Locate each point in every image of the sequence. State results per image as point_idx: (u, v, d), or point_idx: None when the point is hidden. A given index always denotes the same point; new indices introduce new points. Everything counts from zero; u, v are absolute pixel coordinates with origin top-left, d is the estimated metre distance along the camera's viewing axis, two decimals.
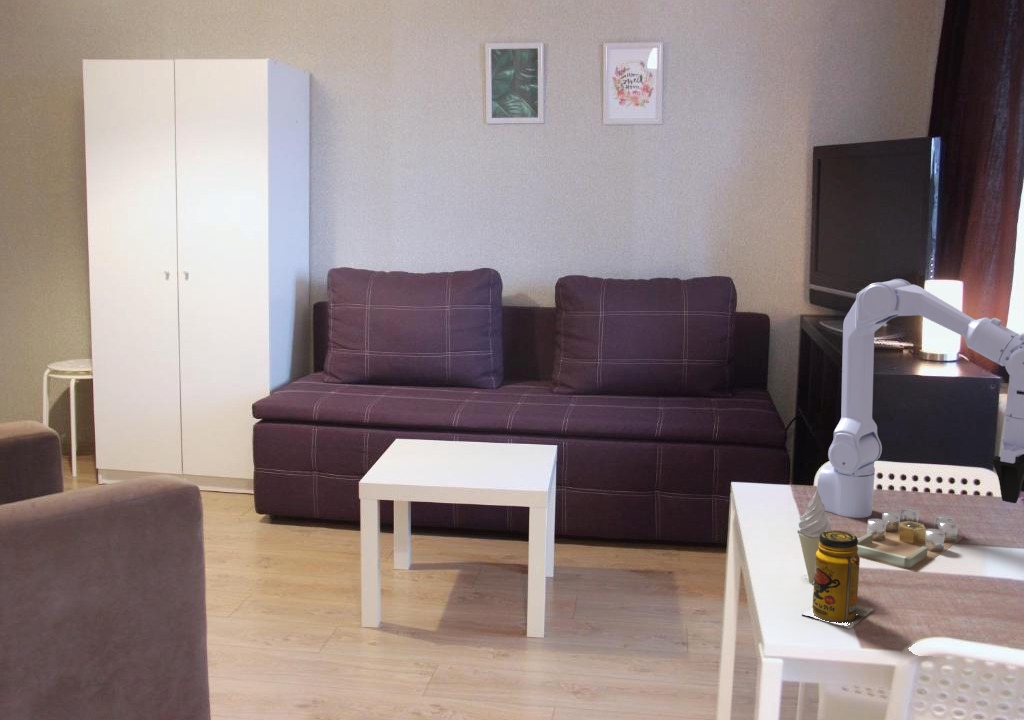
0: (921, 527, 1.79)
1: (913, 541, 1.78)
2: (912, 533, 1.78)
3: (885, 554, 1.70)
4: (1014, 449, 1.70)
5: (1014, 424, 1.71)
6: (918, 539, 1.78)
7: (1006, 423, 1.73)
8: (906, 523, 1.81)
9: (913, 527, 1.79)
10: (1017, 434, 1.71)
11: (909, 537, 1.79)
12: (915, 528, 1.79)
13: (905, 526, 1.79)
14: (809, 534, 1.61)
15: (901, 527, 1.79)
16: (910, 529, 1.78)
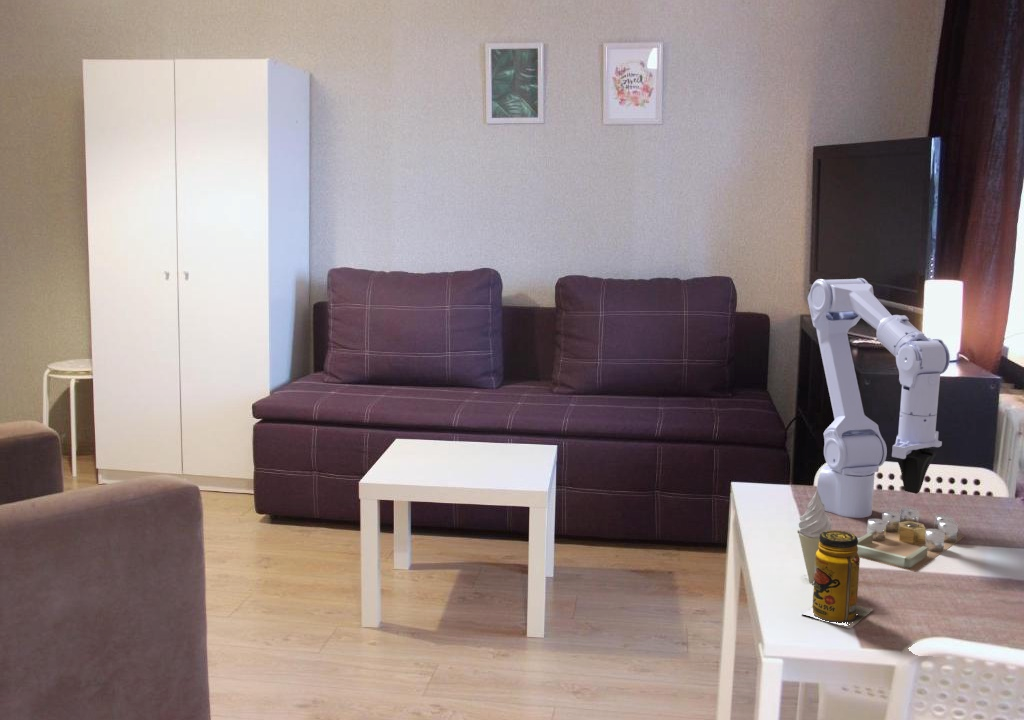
0: (921, 527, 1.79)
1: (913, 541, 1.78)
2: (912, 533, 1.78)
3: (885, 554, 1.70)
4: (906, 445, 1.73)
5: (907, 420, 1.74)
6: (918, 539, 1.78)
7: (900, 419, 1.76)
8: (906, 523, 1.81)
9: (913, 527, 1.79)
10: (910, 430, 1.74)
11: (909, 537, 1.79)
12: (915, 528, 1.79)
13: (905, 526, 1.79)
14: (809, 534, 1.61)
15: (901, 527, 1.79)
16: (910, 529, 1.78)
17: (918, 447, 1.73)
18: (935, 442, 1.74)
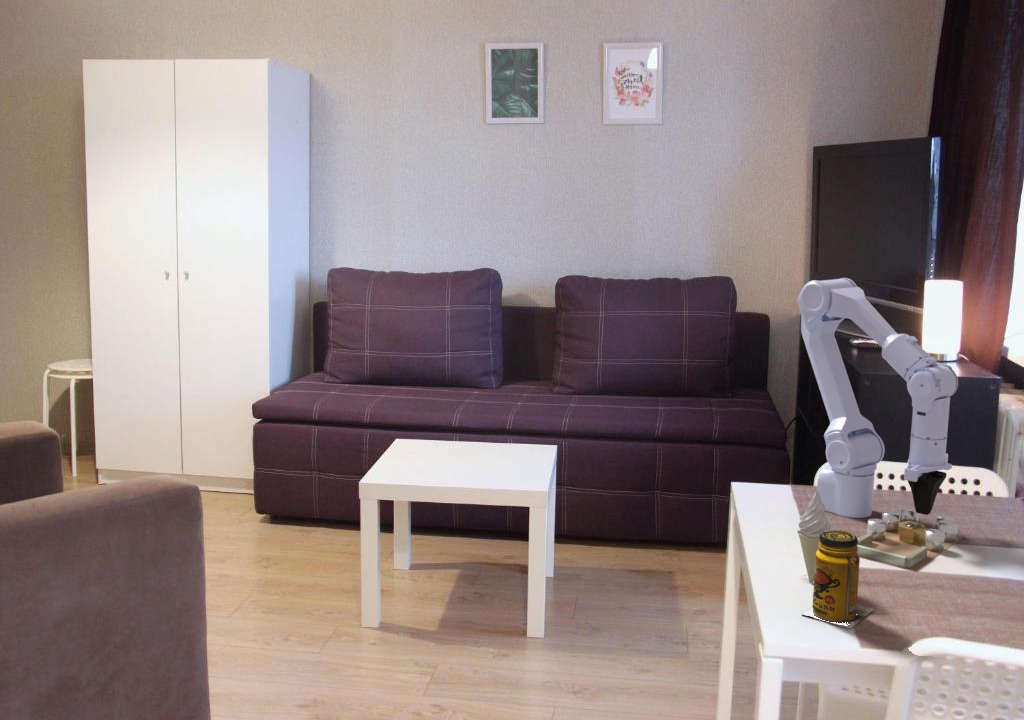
0: (921, 527, 1.79)
1: (913, 541, 1.78)
2: (912, 533, 1.78)
3: (885, 554, 1.70)
4: (917, 468, 1.78)
5: (918, 444, 1.79)
6: (918, 539, 1.78)
7: (911, 443, 1.81)
8: (906, 523, 1.81)
9: (913, 527, 1.79)
10: (921, 453, 1.79)
11: (909, 537, 1.79)
12: (915, 528, 1.79)
13: (905, 526, 1.79)
14: (809, 534, 1.61)
15: (901, 527, 1.79)
16: (910, 529, 1.78)
17: (929, 470, 1.78)
18: (945, 465, 1.79)
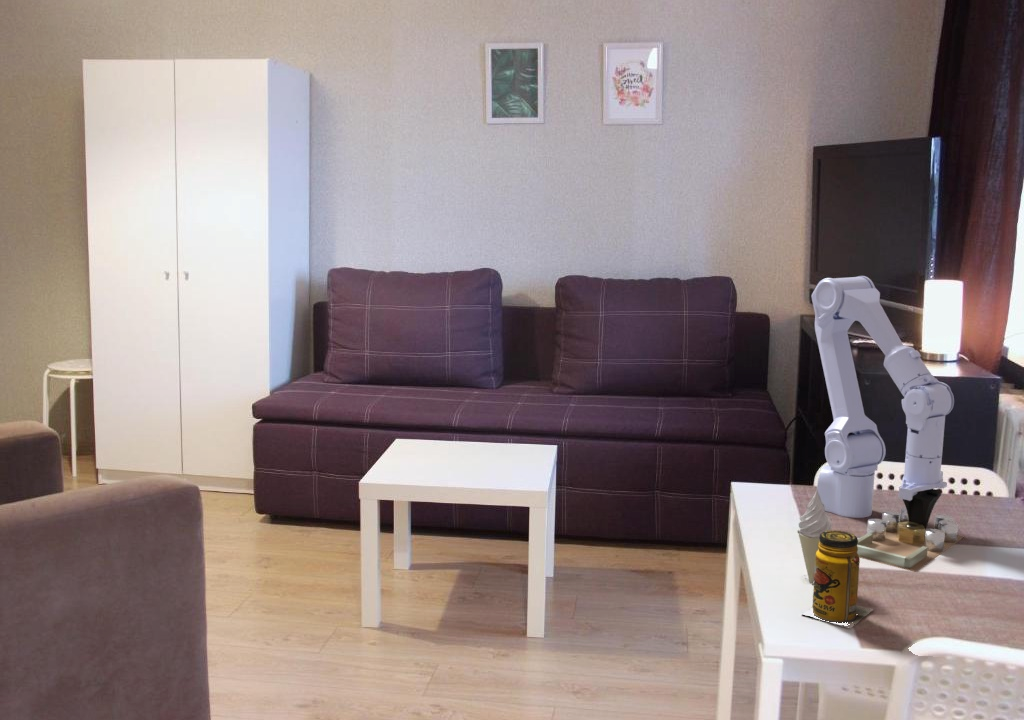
0: (920, 527, 1.79)
1: (912, 542, 1.78)
2: (912, 533, 1.78)
3: (885, 554, 1.70)
4: (912, 486, 1.77)
5: (913, 462, 1.79)
6: (917, 539, 1.78)
7: (906, 461, 1.80)
8: (905, 523, 1.81)
9: (912, 527, 1.79)
10: (916, 472, 1.78)
11: (908, 538, 1.78)
12: (914, 528, 1.78)
13: (904, 526, 1.79)
14: (809, 534, 1.61)
15: (900, 528, 1.79)
16: (909, 530, 1.78)
17: (924, 488, 1.77)
18: (940, 483, 1.78)
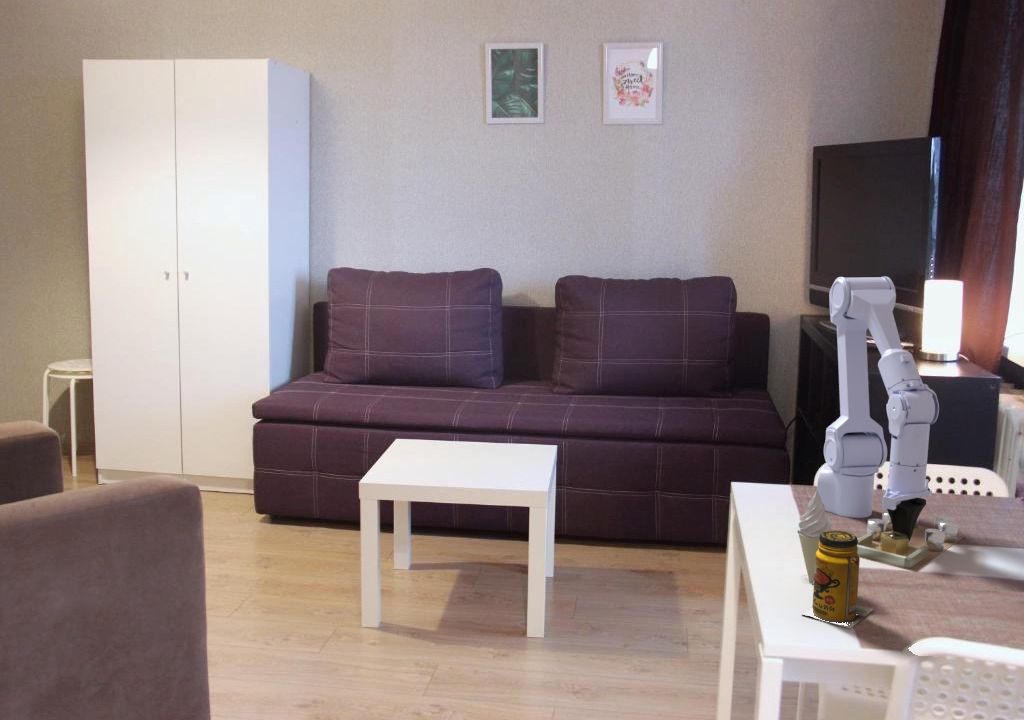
0: (904, 537, 1.74)
1: (896, 552, 1.73)
2: (895, 543, 1.73)
3: (885, 554, 1.70)
4: (896, 495, 1.72)
5: (897, 470, 1.74)
6: (901, 550, 1.73)
7: (890, 469, 1.75)
8: (889, 533, 1.76)
9: (896, 537, 1.74)
10: (900, 480, 1.73)
11: (892, 548, 1.73)
12: (898, 538, 1.73)
13: (888, 536, 1.74)
14: (809, 534, 1.61)
15: (883, 537, 1.74)
16: (893, 539, 1.73)
17: (908, 498, 1.72)
18: (925, 492, 1.73)
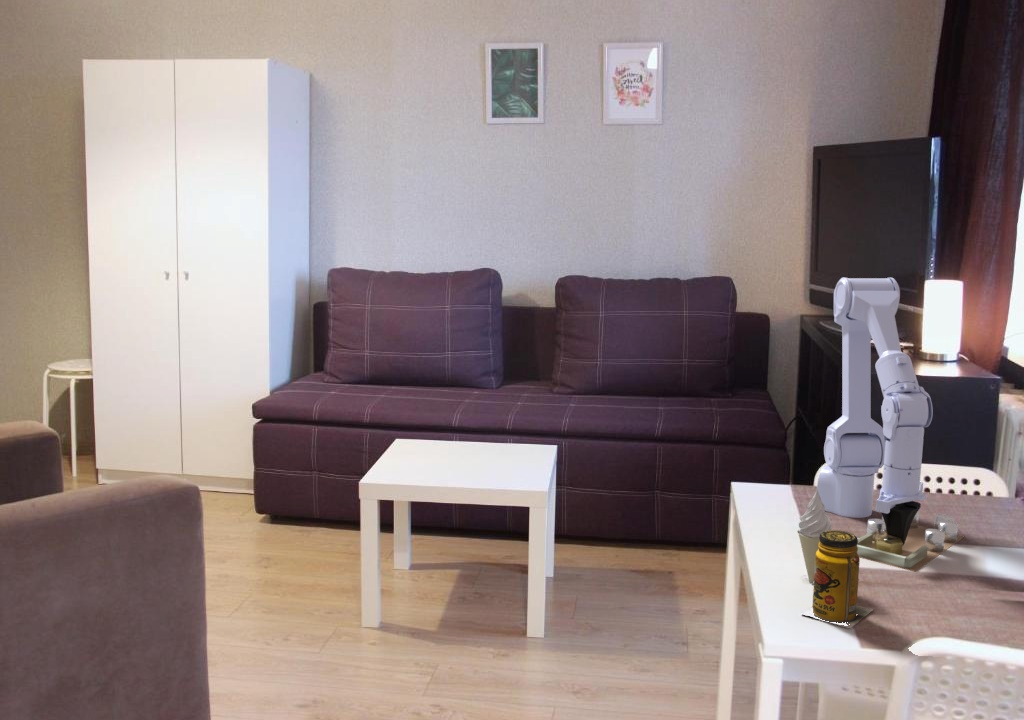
0: (898, 541, 1.72)
1: None
2: (889, 547, 1.71)
3: (885, 554, 1.70)
4: (890, 499, 1.70)
5: (891, 473, 1.72)
6: None
7: (884, 472, 1.74)
8: (883, 537, 1.74)
9: (890, 541, 1.72)
10: (894, 483, 1.72)
11: None
12: (892, 542, 1.72)
13: (881, 540, 1.73)
14: (809, 534, 1.61)
15: (877, 541, 1.73)
16: (886, 543, 1.72)
17: (902, 501, 1.70)
18: (919, 495, 1.72)
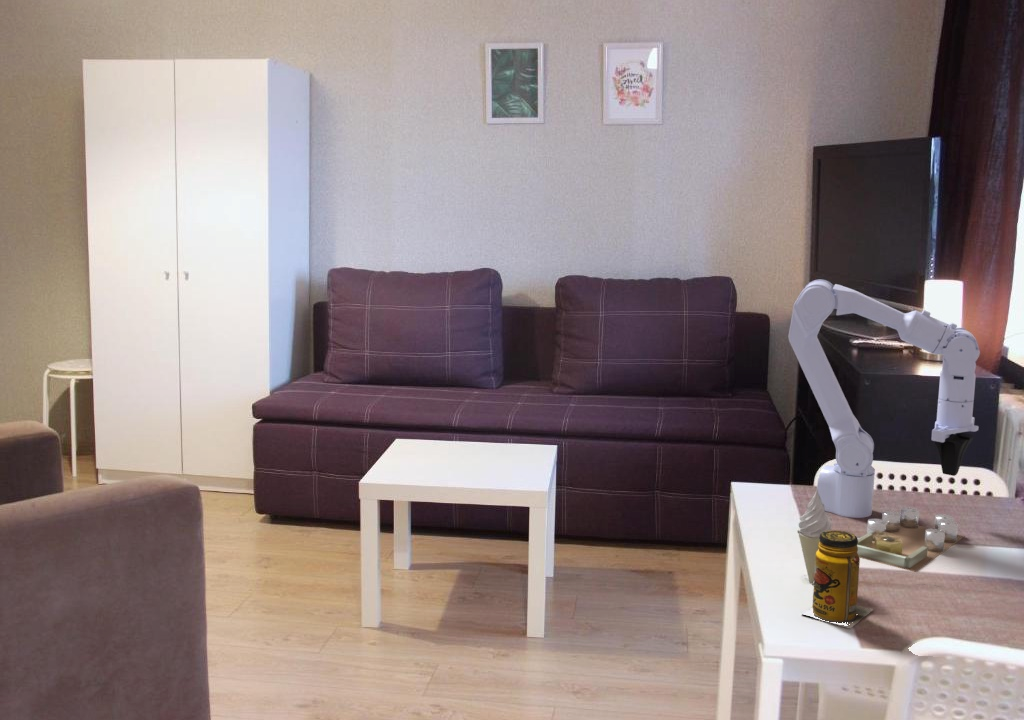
0: (898, 541, 1.72)
1: None
2: (889, 547, 1.71)
3: (885, 554, 1.70)
4: (944, 429, 1.83)
5: (945, 406, 1.84)
6: None
7: (939, 405, 1.86)
8: (883, 537, 1.74)
9: (890, 541, 1.72)
10: (948, 415, 1.84)
11: None
12: (892, 542, 1.72)
13: (881, 540, 1.73)
14: (809, 534, 1.61)
15: (877, 541, 1.73)
16: (886, 543, 1.72)
17: (956, 431, 1.83)
18: (972, 427, 1.84)
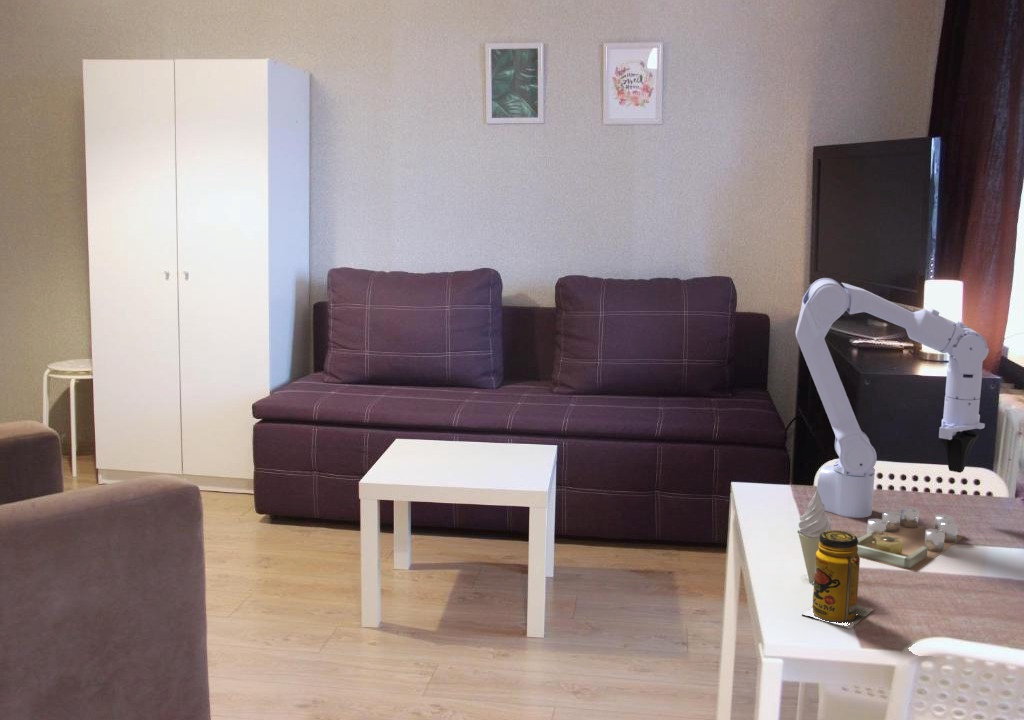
0: (898, 541, 1.72)
1: None
2: (889, 547, 1.71)
3: (885, 554, 1.70)
4: (952, 427, 1.85)
5: (952, 404, 1.87)
6: None
7: (945, 403, 1.88)
8: (883, 537, 1.74)
9: (890, 541, 1.72)
10: (955, 413, 1.86)
11: None
12: (892, 542, 1.72)
13: (881, 540, 1.73)
14: (809, 534, 1.61)
15: (877, 541, 1.73)
16: (886, 543, 1.72)
17: (963, 429, 1.85)
18: (978, 424, 1.86)
